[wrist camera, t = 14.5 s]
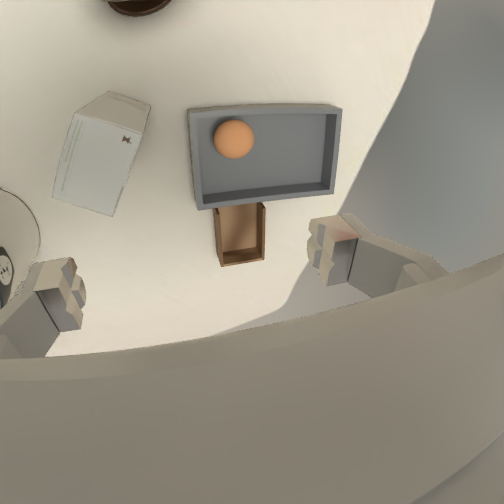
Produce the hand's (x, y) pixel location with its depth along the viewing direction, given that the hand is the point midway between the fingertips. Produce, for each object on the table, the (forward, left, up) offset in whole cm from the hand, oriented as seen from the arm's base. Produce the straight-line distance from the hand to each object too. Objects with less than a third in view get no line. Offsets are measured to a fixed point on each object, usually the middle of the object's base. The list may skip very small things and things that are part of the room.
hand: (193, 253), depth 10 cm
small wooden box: (+8, -18, -31) cm, 37 cm away
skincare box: (-7, -1, -31) cm, 32 cm away
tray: (+12, -6, -31) cm, 34 cm away
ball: (+7, -4, -28) cm, 29 cm away
